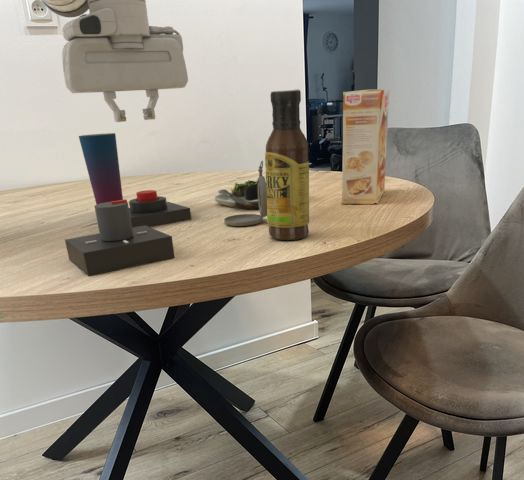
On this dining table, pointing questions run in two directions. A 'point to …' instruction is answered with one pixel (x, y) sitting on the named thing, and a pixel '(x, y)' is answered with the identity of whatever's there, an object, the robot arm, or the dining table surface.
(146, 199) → the power button
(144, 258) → the panel
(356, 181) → the coffeecake box
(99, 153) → the cup
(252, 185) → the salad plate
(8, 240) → the dining table surface
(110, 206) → the timer knob
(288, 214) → the sauce bottle
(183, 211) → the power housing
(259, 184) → the pocket watch
